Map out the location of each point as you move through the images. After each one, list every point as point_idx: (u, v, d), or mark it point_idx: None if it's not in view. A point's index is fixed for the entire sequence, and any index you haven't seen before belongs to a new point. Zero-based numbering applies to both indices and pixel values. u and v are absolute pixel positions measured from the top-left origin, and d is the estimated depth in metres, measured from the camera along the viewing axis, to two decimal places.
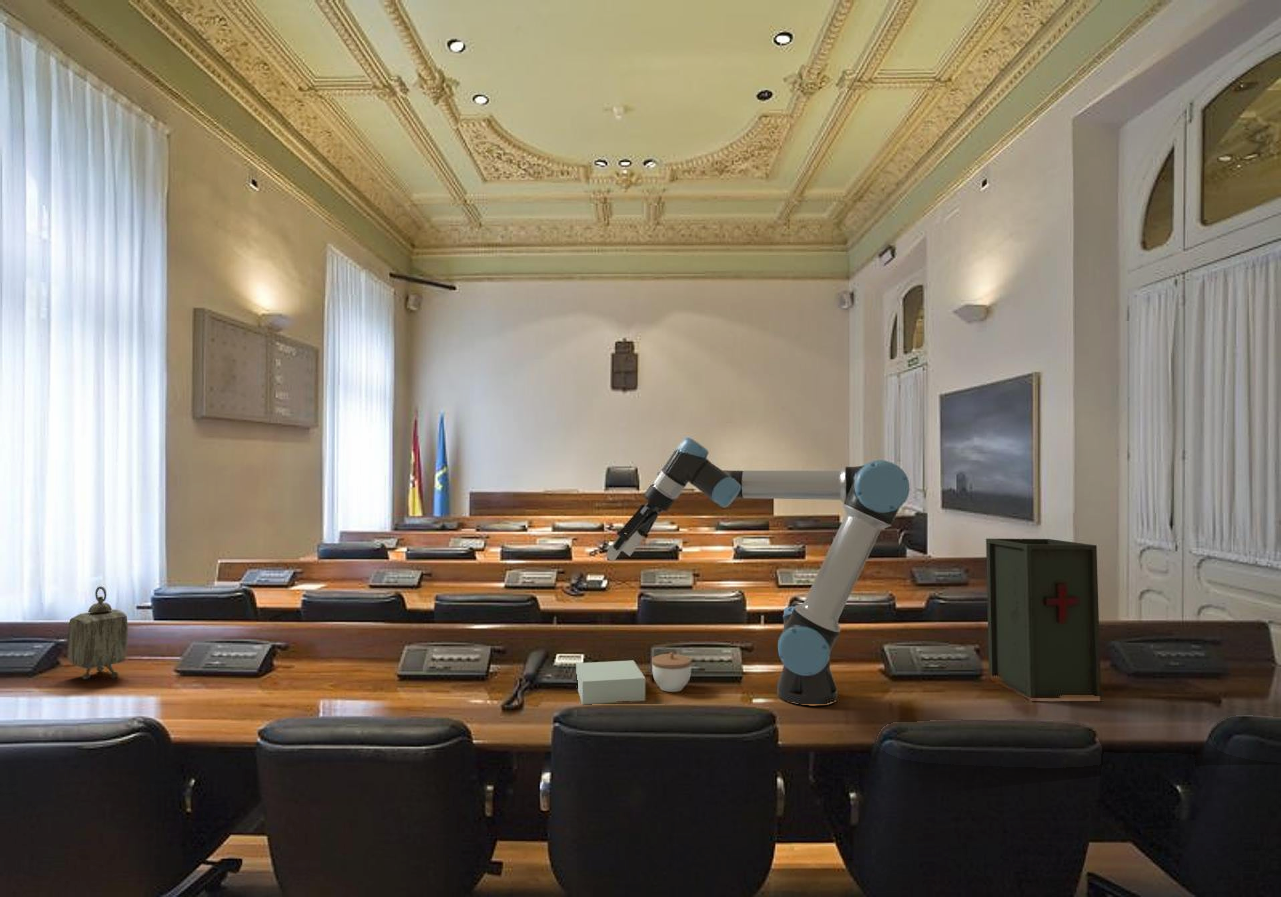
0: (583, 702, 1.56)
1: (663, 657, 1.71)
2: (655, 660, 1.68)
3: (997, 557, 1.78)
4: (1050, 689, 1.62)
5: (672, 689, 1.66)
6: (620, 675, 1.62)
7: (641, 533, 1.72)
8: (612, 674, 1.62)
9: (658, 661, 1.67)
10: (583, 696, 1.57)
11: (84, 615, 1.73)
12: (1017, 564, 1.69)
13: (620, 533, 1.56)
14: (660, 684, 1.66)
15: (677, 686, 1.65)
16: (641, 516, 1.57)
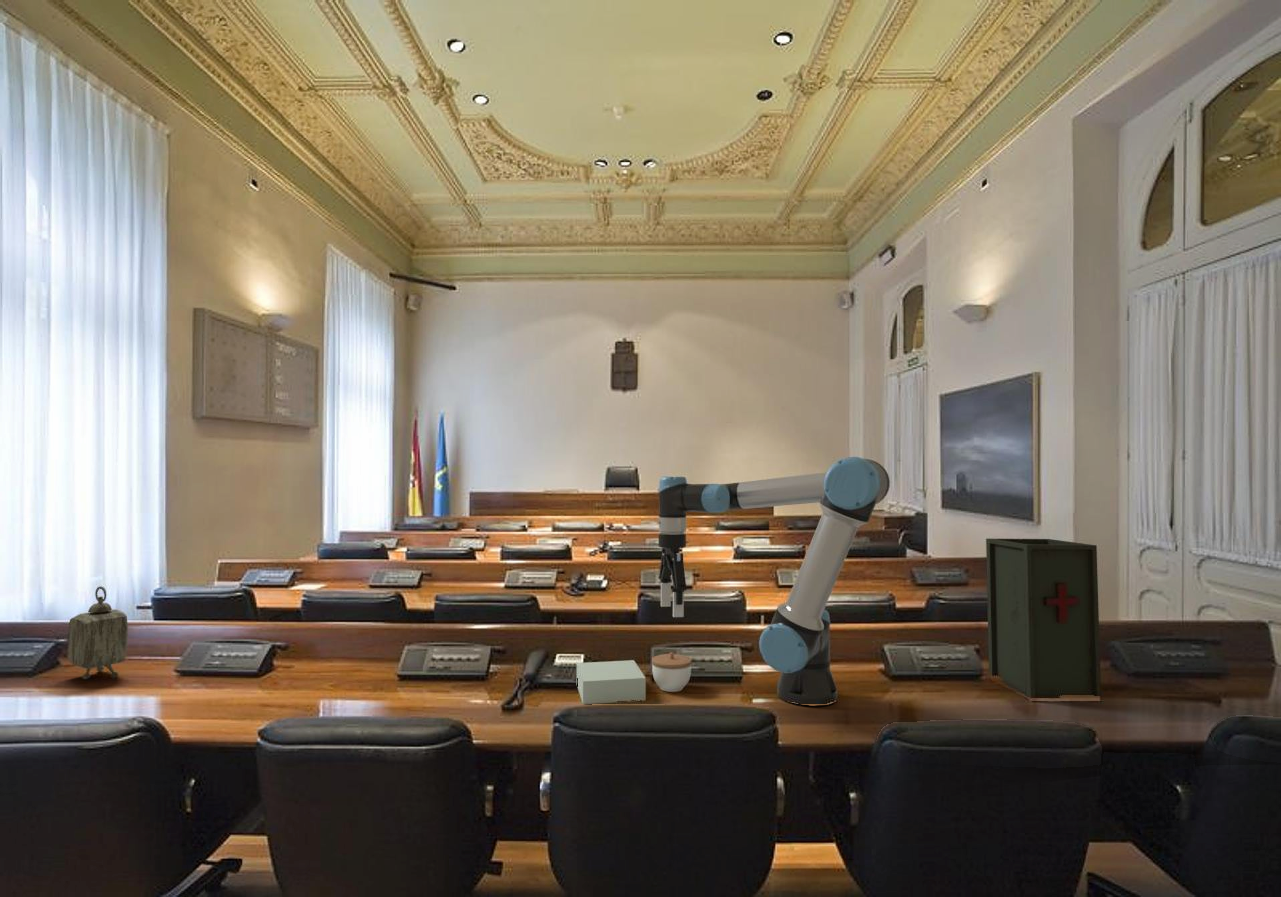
0: (584, 702, 1.57)
1: (663, 657, 1.71)
2: (655, 660, 1.68)
3: (997, 557, 1.78)
4: (1050, 689, 1.62)
5: (672, 689, 1.66)
6: (620, 675, 1.62)
7: (666, 581, 1.78)
8: (613, 674, 1.63)
9: (658, 661, 1.67)
10: (583, 696, 1.57)
11: (84, 615, 1.73)
12: (1017, 564, 1.69)
13: (679, 588, 1.61)
14: (660, 684, 1.66)
15: (677, 686, 1.65)
16: (680, 563, 1.64)
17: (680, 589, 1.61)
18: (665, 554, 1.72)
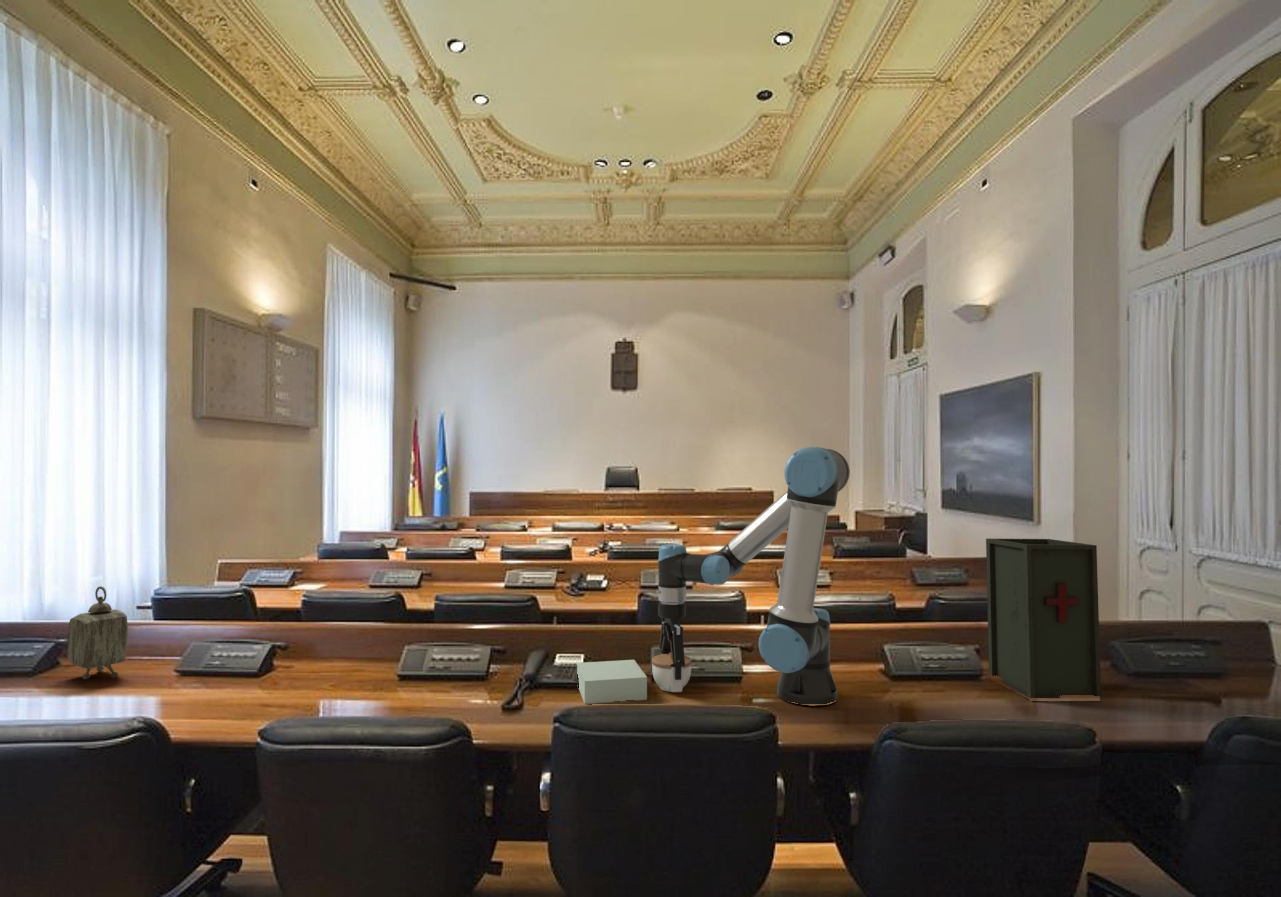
0: (585, 701, 1.57)
1: (663, 657, 1.71)
2: (655, 660, 1.68)
3: (997, 557, 1.78)
4: (1050, 689, 1.62)
5: None
6: (621, 675, 1.62)
7: (667, 652, 1.76)
8: (614, 674, 1.63)
9: (658, 661, 1.67)
10: (585, 696, 1.57)
11: (84, 615, 1.73)
12: (1017, 564, 1.69)
13: (677, 664, 1.61)
14: (660, 684, 1.66)
15: None
16: (680, 637, 1.63)
17: (679, 665, 1.61)
18: (665, 623, 1.71)
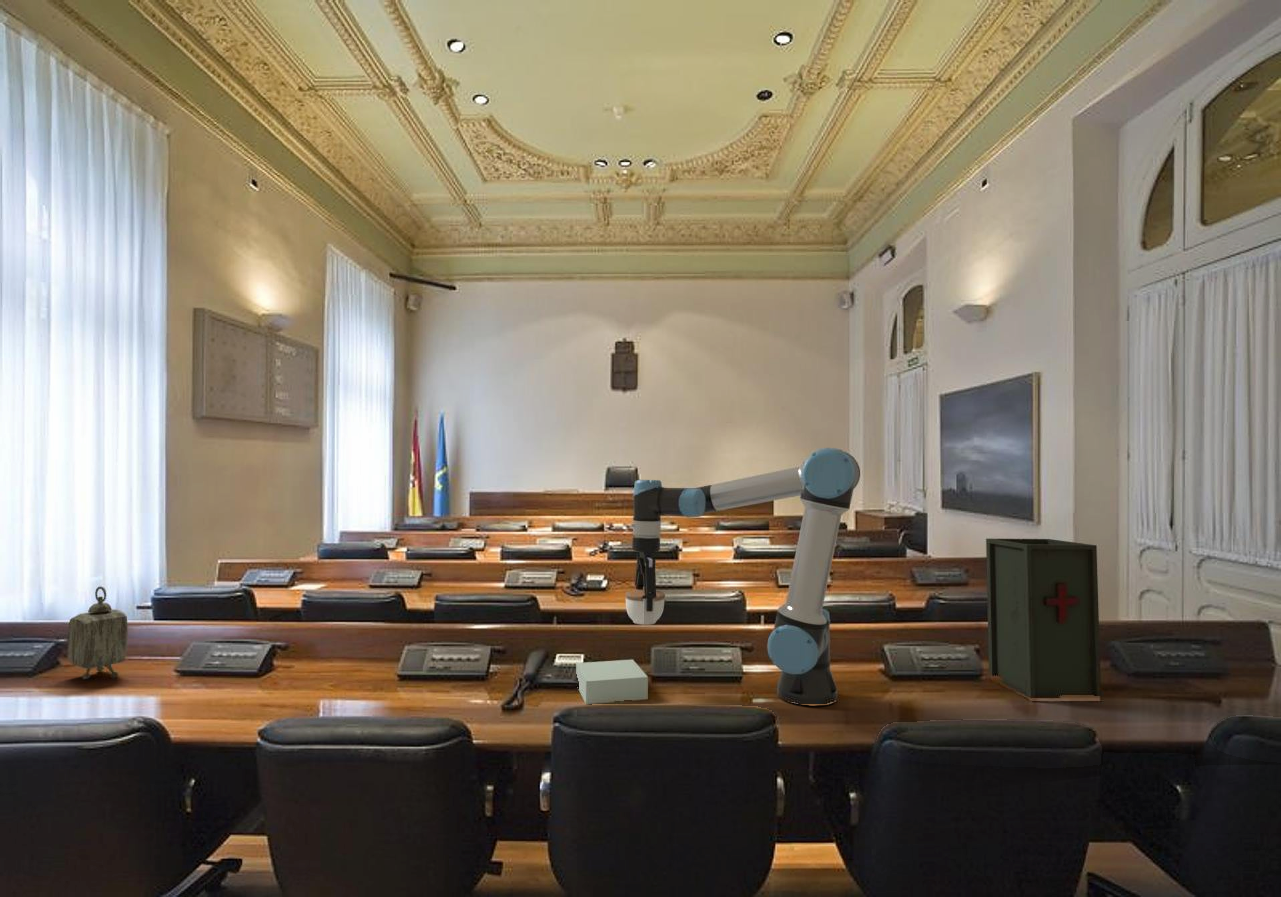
0: (587, 702, 1.57)
1: (637, 591, 1.71)
2: (628, 593, 1.68)
3: (997, 557, 1.78)
4: (1050, 689, 1.62)
5: None
6: (622, 675, 1.62)
7: (641, 588, 1.75)
8: (614, 674, 1.63)
9: (631, 594, 1.67)
10: (587, 696, 1.57)
11: (84, 615, 1.73)
12: (1017, 564, 1.69)
13: (648, 595, 1.61)
14: (632, 616, 1.66)
15: None
16: (652, 569, 1.63)
17: (650, 596, 1.61)
18: (639, 557, 1.71)
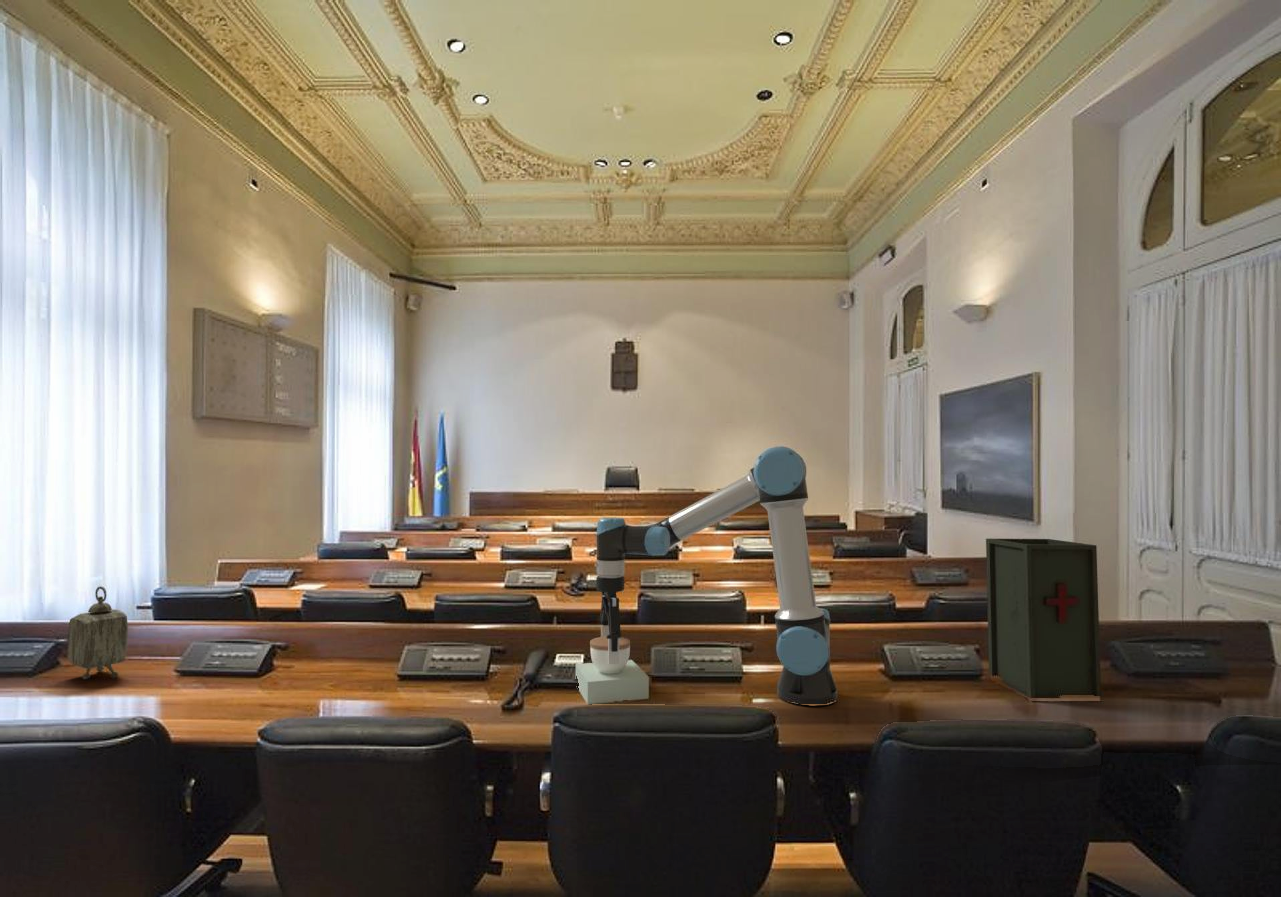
0: (588, 702, 1.57)
1: (602, 639, 1.68)
2: (593, 642, 1.65)
3: (997, 557, 1.78)
4: (1050, 689, 1.62)
5: (609, 671, 1.63)
6: (623, 675, 1.63)
7: (606, 623, 1.74)
8: (615, 674, 1.63)
9: (596, 642, 1.64)
10: (588, 696, 1.57)
11: (84, 615, 1.73)
12: (1017, 564, 1.69)
13: (613, 635, 1.57)
14: (597, 666, 1.63)
15: (614, 668, 1.62)
16: (616, 608, 1.60)
17: (614, 636, 1.57)
18: (603, 597, 1.68)
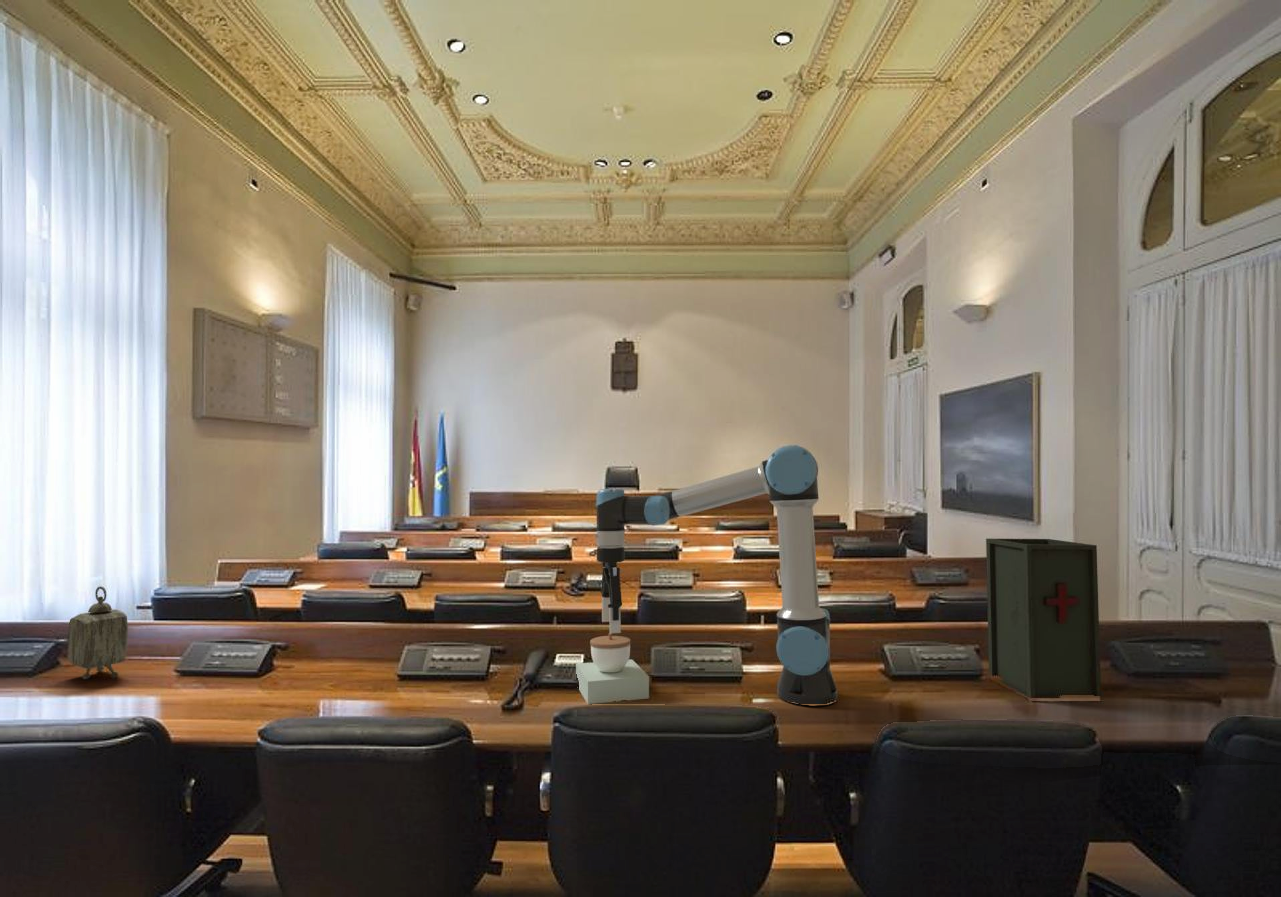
0: (588, 702, 1.57)
1: (602, 638, 1.68)
2: (593, 641, 1.66)
3: (997, 557, 1.78)
4: (1050, 689, 1.62)
5: (610, 669, 1.63)
6: (623, 674, 1.63)
7: (607, 595, 1.74)
8: (615, 674, 1.63)
9: (596, 641, 1.65)
10: (588, 696, 1.57)
11: (84, 615, 1.73)
12: (1017, 564, 1.69)
13: (614, 604, 1.57)
14: (598, 665, 1.64)
15: (615, 666, 1.63)
16: (617, 577, 1.61)
17: (615, 605, 1.57)
18: (604, 568, 1.68)
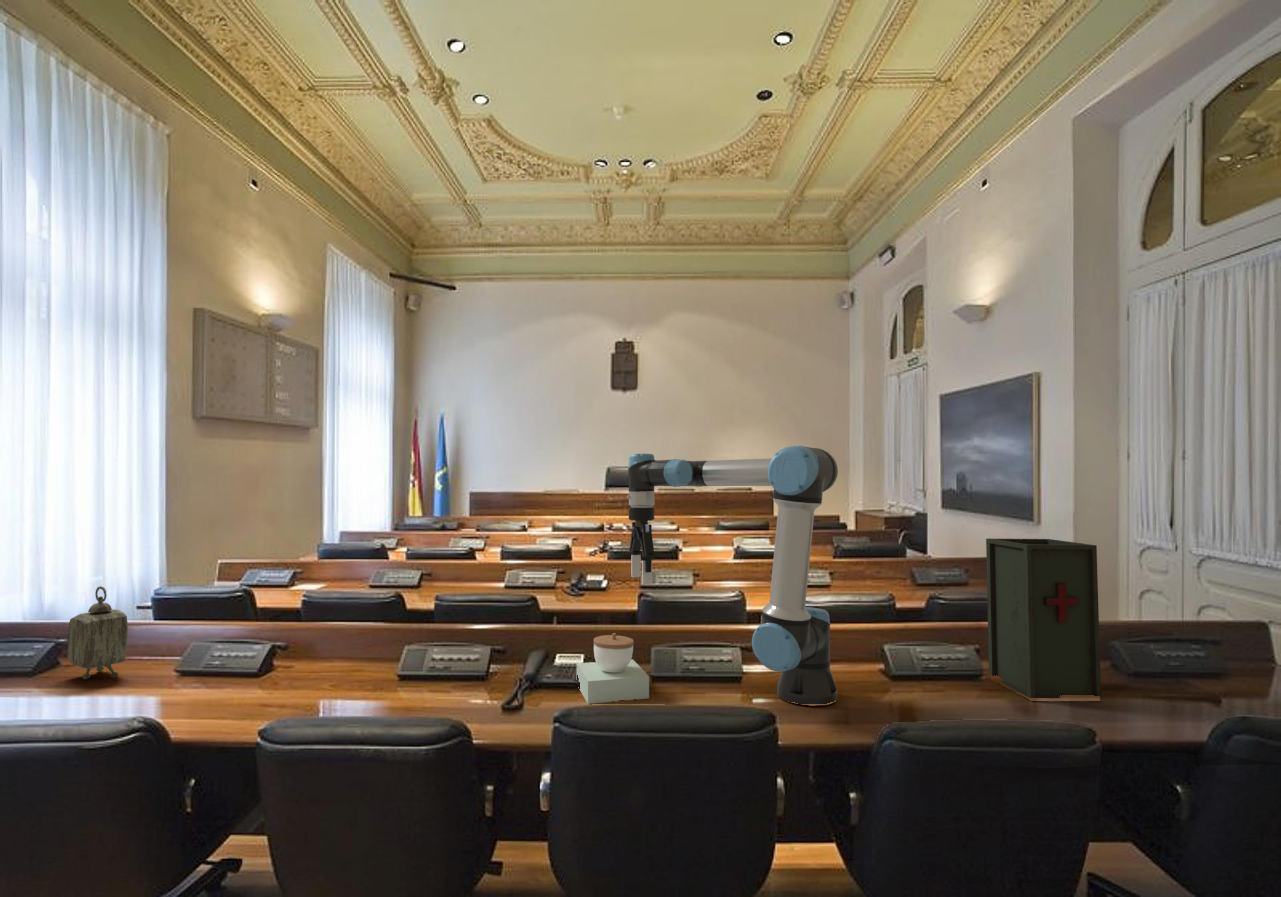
0: (588, 702, 1.57)
1: (605, 638, 1.68)
2: (597, 640, 1.65)
3: (997, 557, 1.78)
4: (1050, 689, 1.62)
5: (613, 670, 1.63)
6: (623, 674, 1.63)
7: (636, 553, 1.89)
8: (616, 673, 1.63)
9: (600, 641, 1.65)
10: (588, 696, 1.57)
11: (84, 615, 1.73)
12: (1017, 564, 1.69)
13: (647, 556, 1.72)
14: (601, 664, 1.63)
15: (618, 667, 1.63)
16: (649, 533, 1.75)
17: (649, 557, 1.72)
18: (635, 527, 1.83)
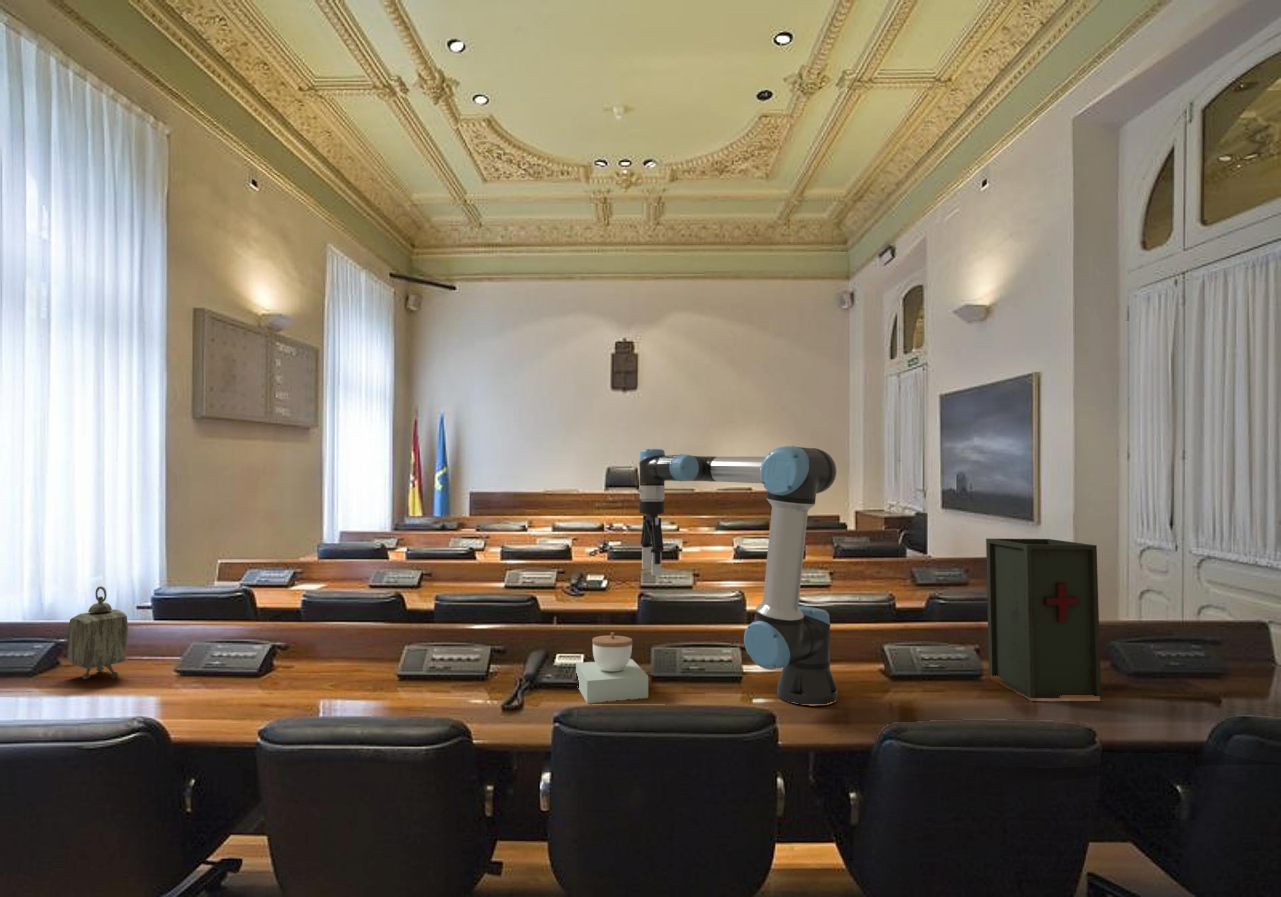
0: (588, 701, 1.57)
1: (603, 637, 1.68)
2: (597, 640, 1.65)
3: (997, 557, 1.78)
4: (1050, 689, 1.62)
5: (614, 668, 1.64)
6: (623, 674, 1.63)
7: (647, 546, 1.94)
8: (615, 673, 1.64)
9: (600, 640, 1.65)
10: (588, 695, 1.57)
11: (84, 615, 1.73)
12: (1017, 564, 1.69)
13: (657, 548, 1.77)
14: (602, 664, 1.63)
15: (619, 665, 1.63)
16: (658, 526, 1.81)
17: (658, 549, 1.77)
18: (645, 520, 1.88)
